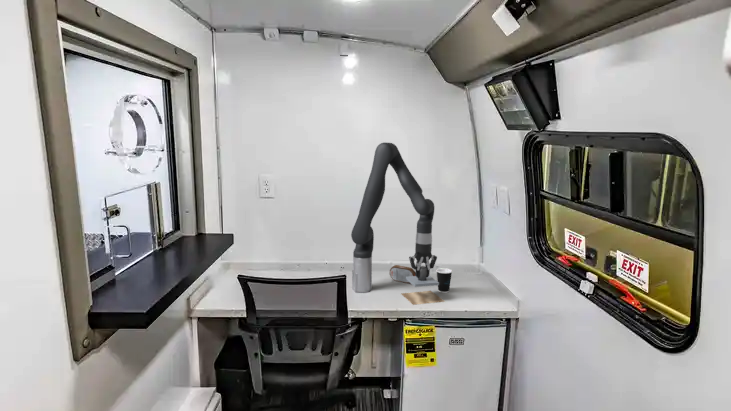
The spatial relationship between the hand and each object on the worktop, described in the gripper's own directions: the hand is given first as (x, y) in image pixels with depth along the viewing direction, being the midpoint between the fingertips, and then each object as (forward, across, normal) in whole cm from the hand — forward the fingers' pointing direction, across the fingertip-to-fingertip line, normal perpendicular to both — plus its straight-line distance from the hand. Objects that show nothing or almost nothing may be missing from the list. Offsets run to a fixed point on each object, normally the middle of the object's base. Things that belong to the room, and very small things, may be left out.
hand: (422, 277), depth 221 cm
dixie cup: (+11, -14, -6) cm, 19 cm away
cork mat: (+11, 0, 0) cm, 11 cm away
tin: (+11, 0, -27) cm, 29 cm away
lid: (+2, 0, 0) cm, 2 cm away
